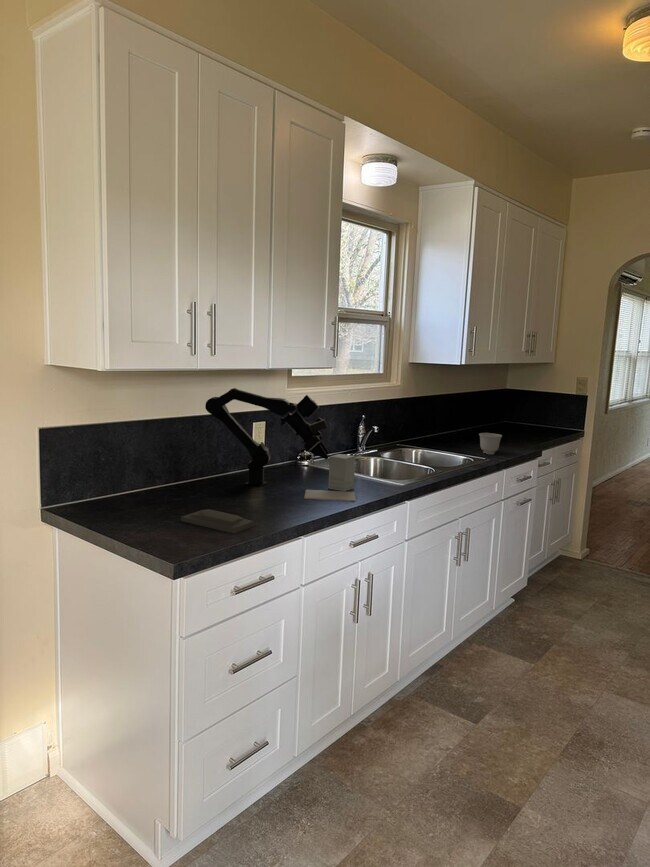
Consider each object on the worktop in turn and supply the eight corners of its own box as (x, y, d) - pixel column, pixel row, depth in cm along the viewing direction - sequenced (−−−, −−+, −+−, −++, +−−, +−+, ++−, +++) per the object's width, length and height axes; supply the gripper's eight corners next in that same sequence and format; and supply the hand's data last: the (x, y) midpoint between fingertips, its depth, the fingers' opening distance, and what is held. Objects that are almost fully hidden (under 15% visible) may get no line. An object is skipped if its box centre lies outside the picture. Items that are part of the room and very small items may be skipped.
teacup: (494, 450, 351) (496, 432, 350) (503, 456, 337) (505, 436, 335) (472, 450, 351) (474, 431, 349) (481, 455, 336) (482, 435, 334)
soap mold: (203, 515, 205) (203, 504, 205) (254, 527, 195) (255, 516, 195) (180, 522, 196) (180, 511, 196) (233, 535, 187) (233, 523, 186)
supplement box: (354, 488, 249) (356, 456, 247) (344, 492, 243) (345, 458, 241) (337, 485, 253) (339, 453, 251) (327, 488, 247) (329, 455, 245)
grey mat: (304, 498, 230) (304, 497, 229) (305, 490, 241) (305, 489, 241) (355, 501, 229) (355, 500, 229) (354, 493, 241) (354, 492, 241)
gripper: (314, 414, 234) (343, 446, 236) (316, 408, 253) (343, 438, 254) (291, 435, 236) (321, 466, 237) (295, 427, 254) (322, 457, 256)
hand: (327, 456), depth 246 cm, fingers open, 9 cm apart
